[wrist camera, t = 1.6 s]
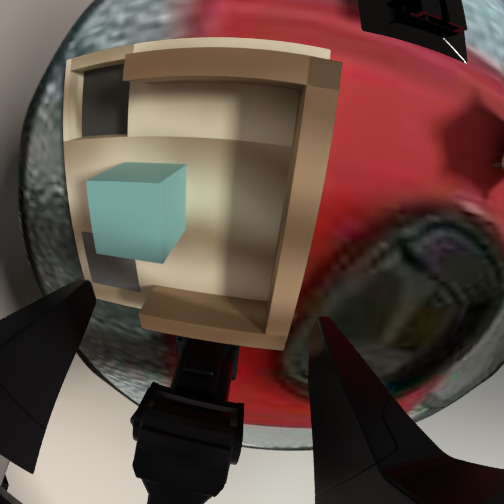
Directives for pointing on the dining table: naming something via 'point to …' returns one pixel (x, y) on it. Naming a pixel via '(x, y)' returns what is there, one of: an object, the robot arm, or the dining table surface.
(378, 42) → the dining table surface
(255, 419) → the dining table surface
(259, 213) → the board
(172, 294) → the cubby
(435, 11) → the black box
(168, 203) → the block
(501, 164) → the game die
